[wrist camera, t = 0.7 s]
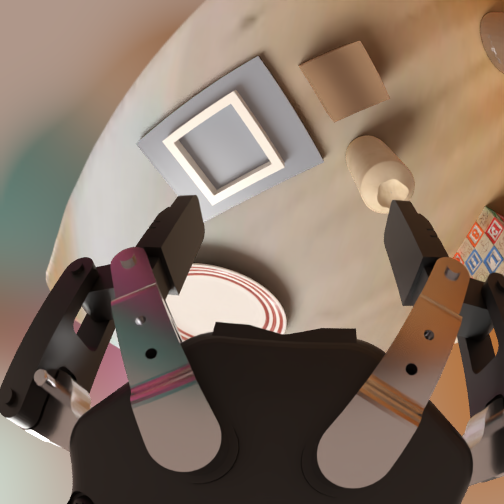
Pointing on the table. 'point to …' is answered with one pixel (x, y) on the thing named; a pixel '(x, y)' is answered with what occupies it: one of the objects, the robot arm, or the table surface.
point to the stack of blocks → (483, 247)
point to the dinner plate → (223, 302)
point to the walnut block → (345, 80)
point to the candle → (378, 173)
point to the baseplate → (231, 141)
